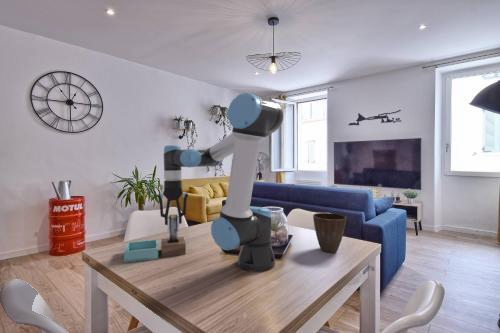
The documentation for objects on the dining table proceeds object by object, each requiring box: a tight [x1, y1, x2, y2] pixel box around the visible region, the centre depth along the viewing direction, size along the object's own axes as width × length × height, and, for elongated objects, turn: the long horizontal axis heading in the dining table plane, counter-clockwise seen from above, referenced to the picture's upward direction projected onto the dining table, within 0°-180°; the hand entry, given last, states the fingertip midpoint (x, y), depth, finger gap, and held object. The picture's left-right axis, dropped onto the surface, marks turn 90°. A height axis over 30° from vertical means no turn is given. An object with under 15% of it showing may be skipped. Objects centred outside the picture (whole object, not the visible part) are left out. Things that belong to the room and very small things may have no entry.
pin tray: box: [123, 238, 159, 264], centre depth 114 cm, size 13×13×4 cm
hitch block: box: [160, 236, 187, 258], centre depth 118 cm, size 10×10×5 cm
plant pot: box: [312, 212, 347, 253], centre depth 121 cm, size 15×15×16 cm
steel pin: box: [168, 213, 178, 243], centre depth 118 cm, size 4×4×14 cm
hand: (173, 231), depth 118 cm, fingers closed on steel pin, 3 cm apart
